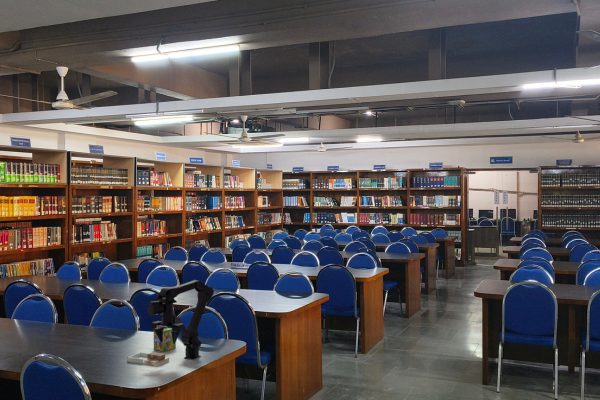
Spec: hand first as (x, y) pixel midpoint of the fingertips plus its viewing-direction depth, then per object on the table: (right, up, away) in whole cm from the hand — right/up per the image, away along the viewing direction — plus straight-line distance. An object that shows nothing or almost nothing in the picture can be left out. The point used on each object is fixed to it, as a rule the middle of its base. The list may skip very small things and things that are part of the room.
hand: (167, 342), depth 269 cm
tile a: (-5, -9, +2) cm, 11 cm away
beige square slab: (-7, -11, +3) cm, 13 cm away
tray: (-16, -12, +8) cm, 21 cm away
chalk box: (-9, -12, +30) cm, 34 cm away
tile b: (-9, -9, +4) cm, 14 cm away
